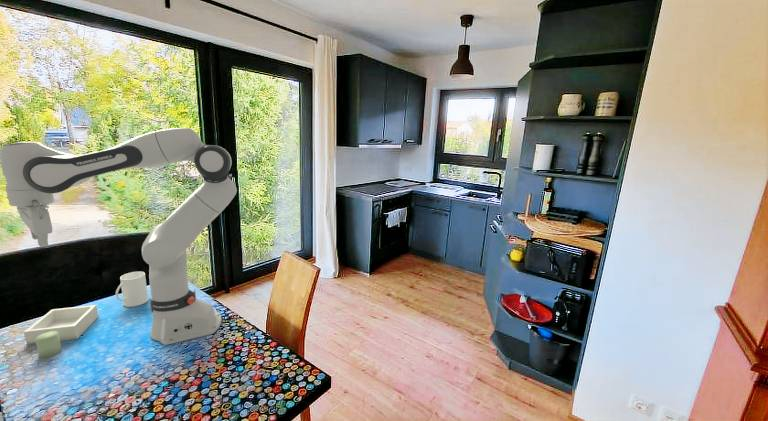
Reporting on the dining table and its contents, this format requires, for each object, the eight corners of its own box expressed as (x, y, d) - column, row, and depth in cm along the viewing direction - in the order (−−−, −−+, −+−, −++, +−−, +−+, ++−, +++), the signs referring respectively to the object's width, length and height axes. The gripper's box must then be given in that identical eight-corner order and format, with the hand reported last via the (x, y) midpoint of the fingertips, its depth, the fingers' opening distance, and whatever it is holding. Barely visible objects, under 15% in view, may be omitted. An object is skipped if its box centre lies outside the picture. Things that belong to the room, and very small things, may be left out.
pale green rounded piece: (65, 346, 102) (62, 330, 100) (55, 356, 97) (52, 339, 96) (45, 348, 100) (42, 332, 99) (34, 359, 95) (30, 342, 94)
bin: (98, 316, 118) (96, 304, 117) (77, 338, 105) (74, 325, 104) (54, 321, 114) (51, 309, 113) (26, 345, 101) (23, 331, 100)
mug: (125, 312, 122) (121, 285, 119) (109, 308, 124) (104, 281, 121) (153, 298, 133) (150, 272, 130) (138, 295, 135) (135, 269, 132)
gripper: (55, 202, 87) (63, 247, 90) (40, 191, 99) (48, 233, 102) (21, 205, 82) (31, 253, 85) (9, 193, 93) (18, 237, 97)
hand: (40, 242), depth 94 cm, fingers open, 8 cm apart
